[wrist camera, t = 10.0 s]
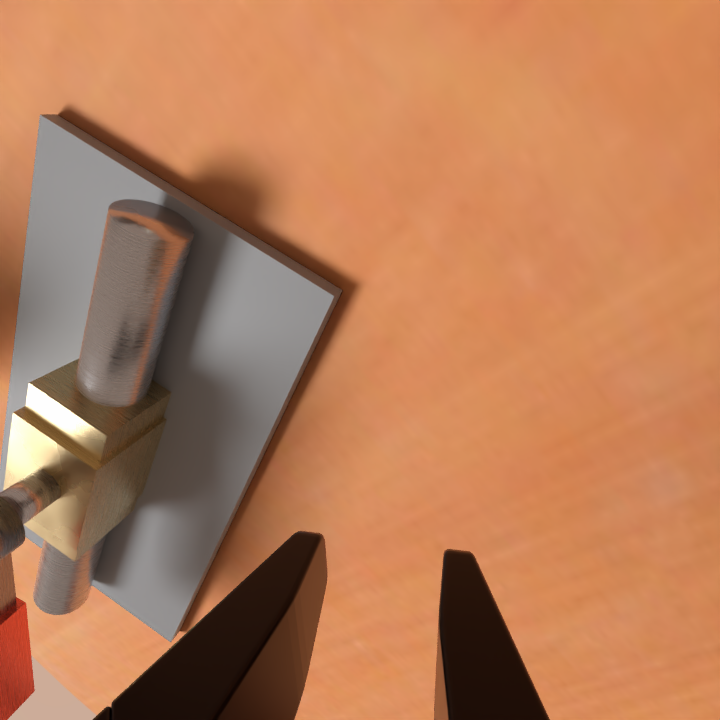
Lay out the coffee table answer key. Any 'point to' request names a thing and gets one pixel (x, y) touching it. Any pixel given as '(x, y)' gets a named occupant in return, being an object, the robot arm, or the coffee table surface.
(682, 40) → the coffee table surface
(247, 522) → the coffee table surface
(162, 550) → the mounting board
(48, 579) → the valve body
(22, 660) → the valve lever
